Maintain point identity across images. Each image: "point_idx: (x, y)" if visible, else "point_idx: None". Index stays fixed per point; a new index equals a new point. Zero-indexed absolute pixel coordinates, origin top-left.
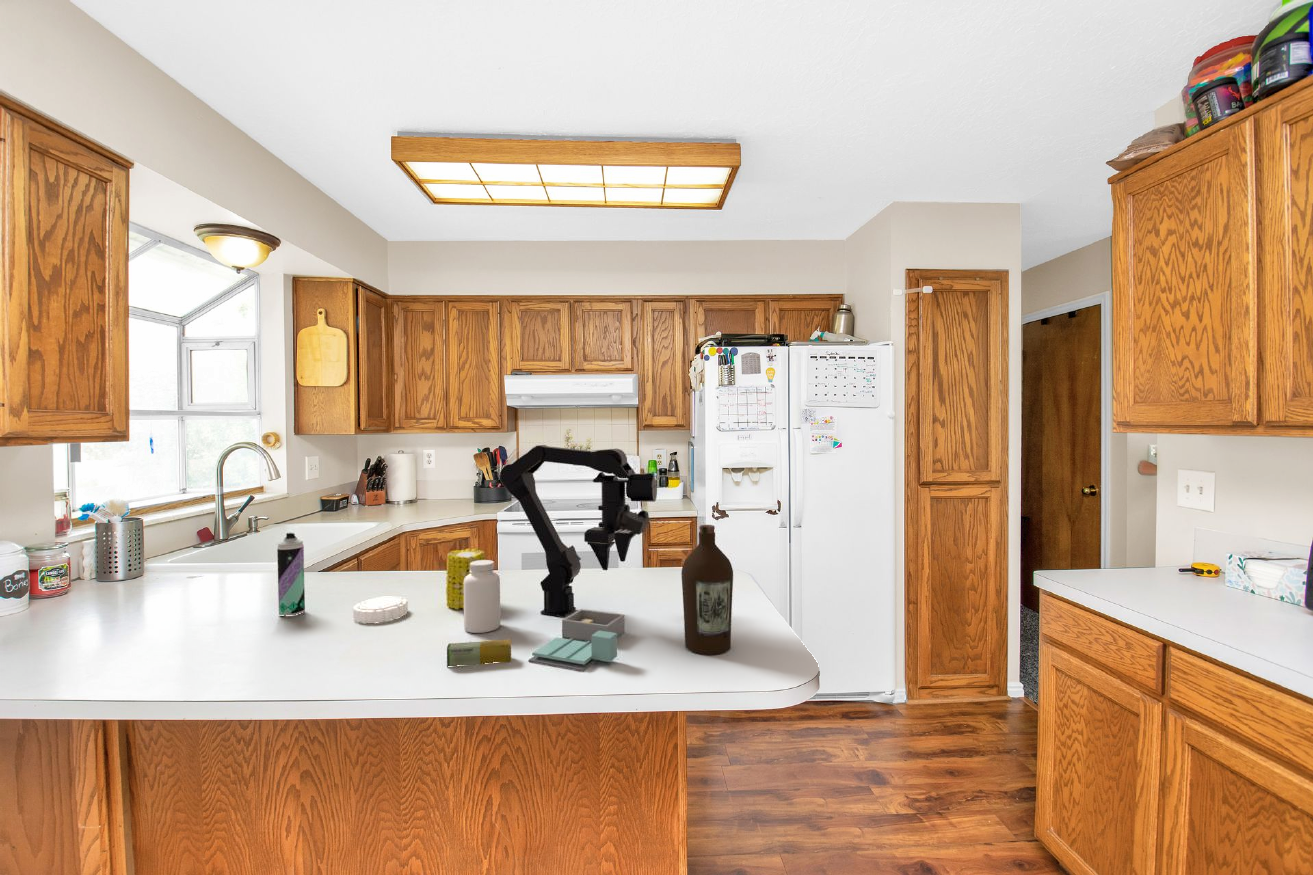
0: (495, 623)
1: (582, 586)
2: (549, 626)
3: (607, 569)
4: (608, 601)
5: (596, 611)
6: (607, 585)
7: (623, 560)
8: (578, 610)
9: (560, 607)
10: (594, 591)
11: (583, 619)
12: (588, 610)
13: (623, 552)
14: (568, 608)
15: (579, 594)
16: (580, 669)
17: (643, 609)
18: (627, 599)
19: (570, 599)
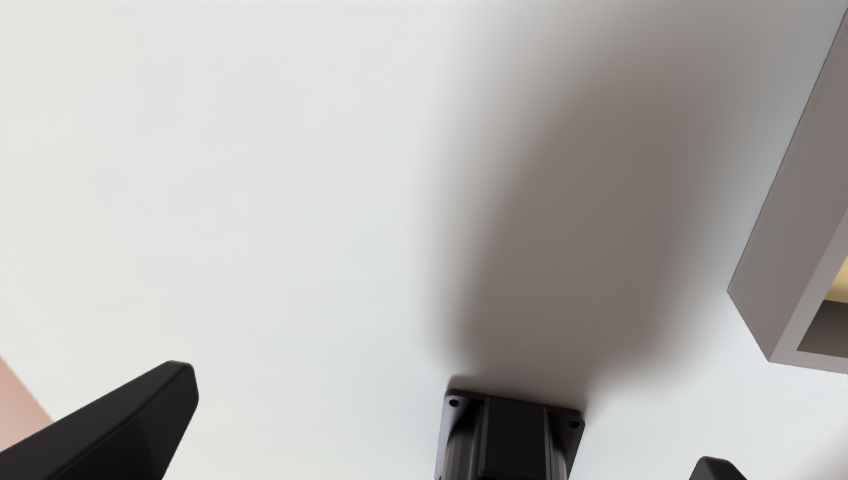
0: None
1: None
2: (734, 425)
3: (708, 457)
4: (262, 279)
5: (837, 250)
6: (40, 353)
7: (188, 378)
8: (803, 366)
9: (556, 456)
10: None
11: (843, 296)
12: (806, 309)
13: (106, 473)
14: (544, 421)
15: (230, 426)
16: None
17: (310, 19)
18: (179, 191)
19: (523, 453)
